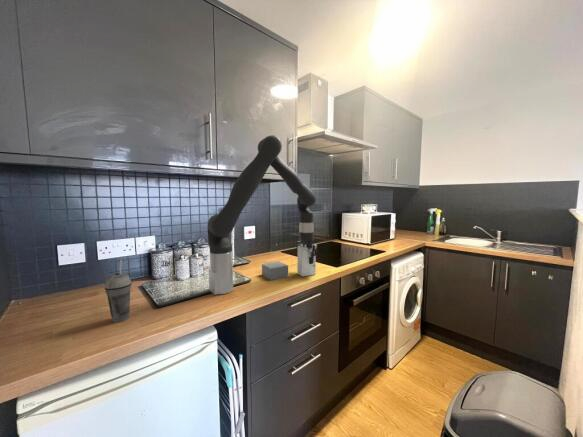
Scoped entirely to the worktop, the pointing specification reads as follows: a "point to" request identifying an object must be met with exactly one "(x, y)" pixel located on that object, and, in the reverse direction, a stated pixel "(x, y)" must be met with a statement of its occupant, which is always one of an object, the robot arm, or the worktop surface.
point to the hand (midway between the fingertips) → (306, 262)
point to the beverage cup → (118, 295)
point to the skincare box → (305, 262)
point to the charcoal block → (275, 270)
